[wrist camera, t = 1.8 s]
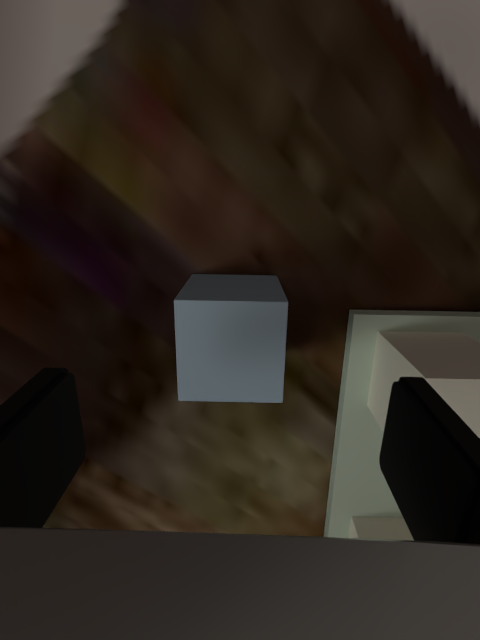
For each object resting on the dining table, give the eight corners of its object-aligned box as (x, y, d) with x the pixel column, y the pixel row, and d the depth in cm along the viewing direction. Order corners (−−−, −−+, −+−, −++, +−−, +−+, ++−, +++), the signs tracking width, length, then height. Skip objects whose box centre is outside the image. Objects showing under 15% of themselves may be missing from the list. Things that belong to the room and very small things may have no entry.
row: (422, 567, 29) (476, 679, 22) (320, 565, 29) (343, 675, 22) (481, 311, 22) (584, 360, 15) (349, 309, 22) (394, 356, 15)
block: (273, 352, 23) (282, 402, 17) (194, 351, 23) (178, 400, 17) (276, 275, 22) (288, 302, 16) (192, 273, 22) (173, 300, 16)
